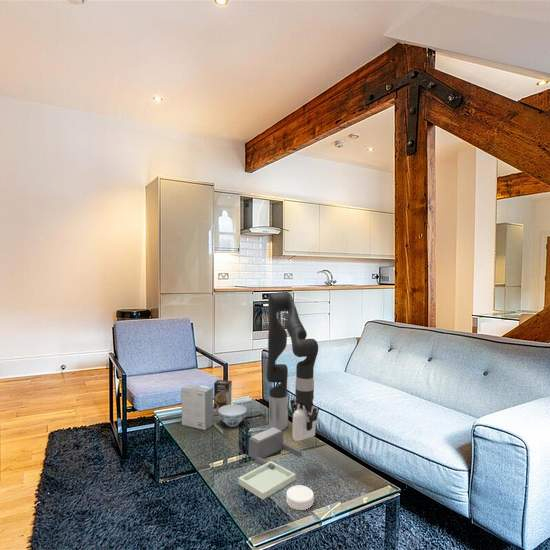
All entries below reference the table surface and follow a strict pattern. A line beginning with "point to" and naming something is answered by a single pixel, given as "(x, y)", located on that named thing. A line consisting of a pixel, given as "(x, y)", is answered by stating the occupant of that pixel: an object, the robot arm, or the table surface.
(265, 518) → the table surface
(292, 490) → the white round puck
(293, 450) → the dock
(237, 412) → the chinaware
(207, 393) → the hard drive box
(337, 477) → the table surface
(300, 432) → the photo printer
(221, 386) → the coffee box
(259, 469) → the tray
